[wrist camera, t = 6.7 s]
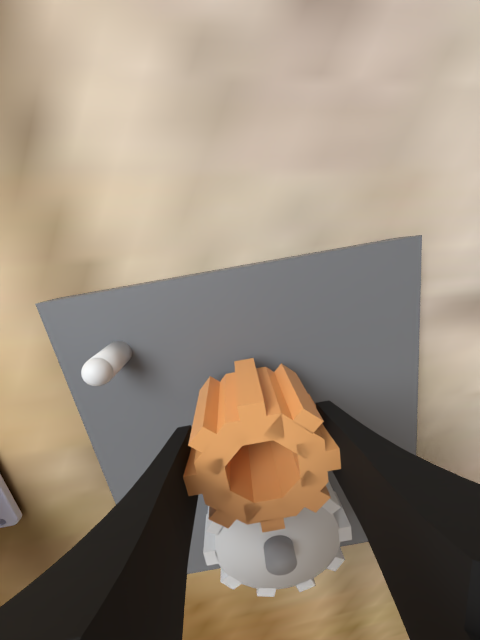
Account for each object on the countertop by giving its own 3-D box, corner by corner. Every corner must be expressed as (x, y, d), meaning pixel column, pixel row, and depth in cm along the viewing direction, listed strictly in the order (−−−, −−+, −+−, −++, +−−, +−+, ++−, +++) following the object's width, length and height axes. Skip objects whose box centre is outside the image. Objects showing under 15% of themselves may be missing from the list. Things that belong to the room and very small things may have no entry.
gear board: (153, 554, 18) (130, 646, 13) (57, 298, 13) (-26, 319, 8) (398, 510, 18) (451, 589, 14) (399, 237, 13) (483, 229, 9)
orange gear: (208, 467, 13) (201, 543, 9) (183, 370, 11) (164, 419, 8) (315, 448, 13) (346, 517, 9) (304, 348, 11) (336, 388, 8)
